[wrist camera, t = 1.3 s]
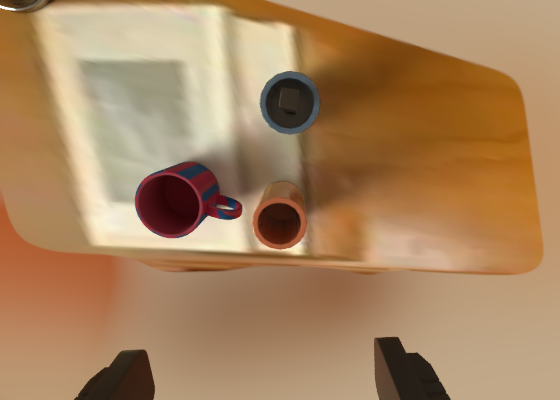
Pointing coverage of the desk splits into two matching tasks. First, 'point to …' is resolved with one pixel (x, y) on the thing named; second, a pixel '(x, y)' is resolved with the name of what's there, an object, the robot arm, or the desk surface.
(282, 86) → the holder
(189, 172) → the mug
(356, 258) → the desk surface
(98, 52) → the desk surface
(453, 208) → the desk surface
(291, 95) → the chopstick
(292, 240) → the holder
